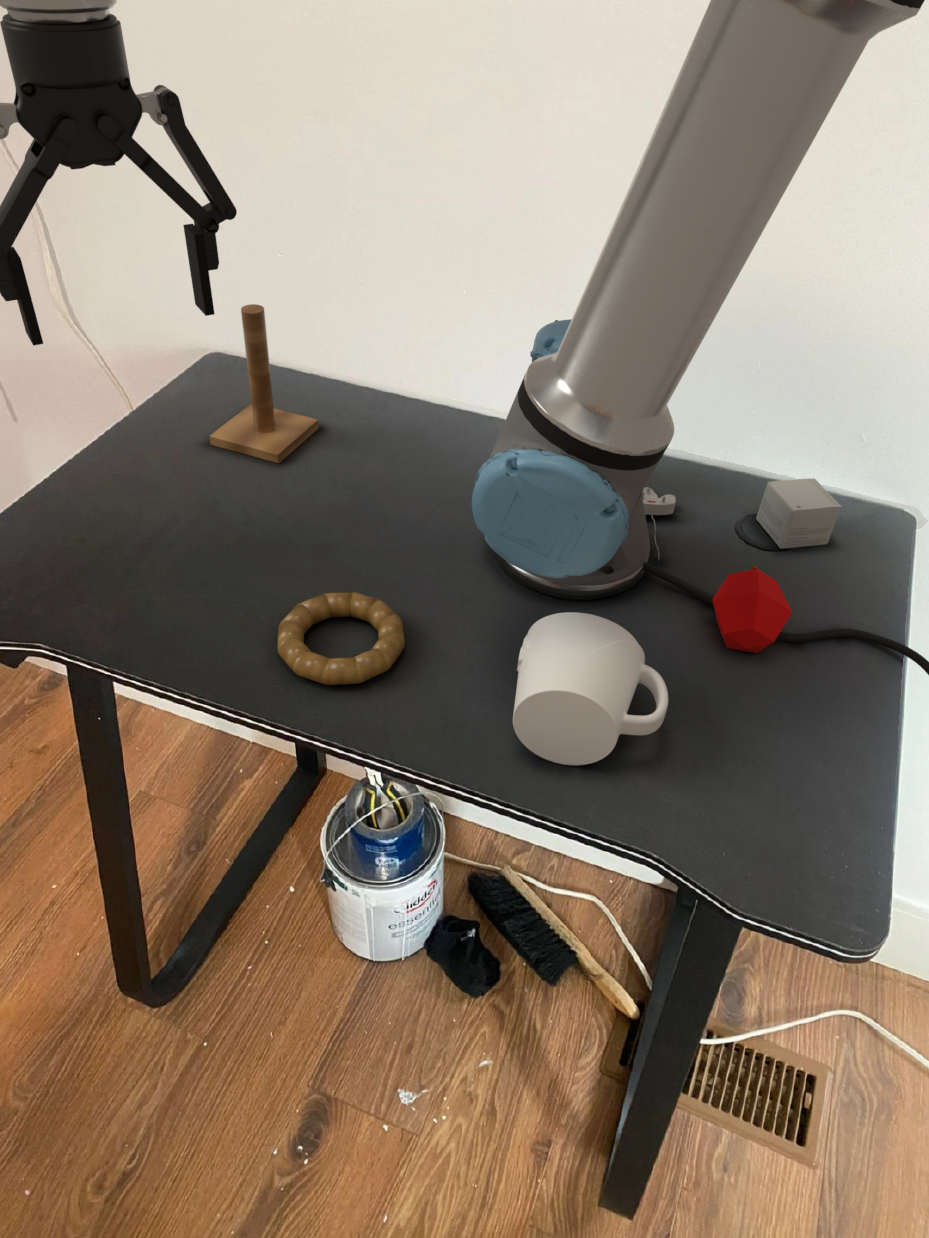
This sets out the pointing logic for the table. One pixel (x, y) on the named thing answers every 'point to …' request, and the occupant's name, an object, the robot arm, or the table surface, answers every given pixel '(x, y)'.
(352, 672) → the ring
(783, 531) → the small box
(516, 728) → the mug
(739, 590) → the apple
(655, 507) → the game controller
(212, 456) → the table surface
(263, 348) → the peg stand
